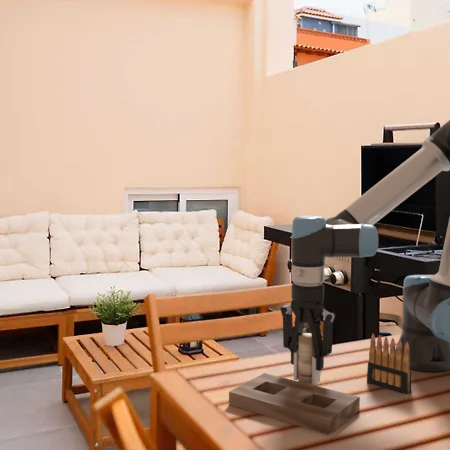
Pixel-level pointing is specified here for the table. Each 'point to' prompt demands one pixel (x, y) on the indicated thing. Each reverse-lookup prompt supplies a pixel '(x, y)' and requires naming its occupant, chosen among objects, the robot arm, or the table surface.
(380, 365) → the ammunition clip
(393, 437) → the table surface
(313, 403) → the walnut board
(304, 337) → the birch dowel
